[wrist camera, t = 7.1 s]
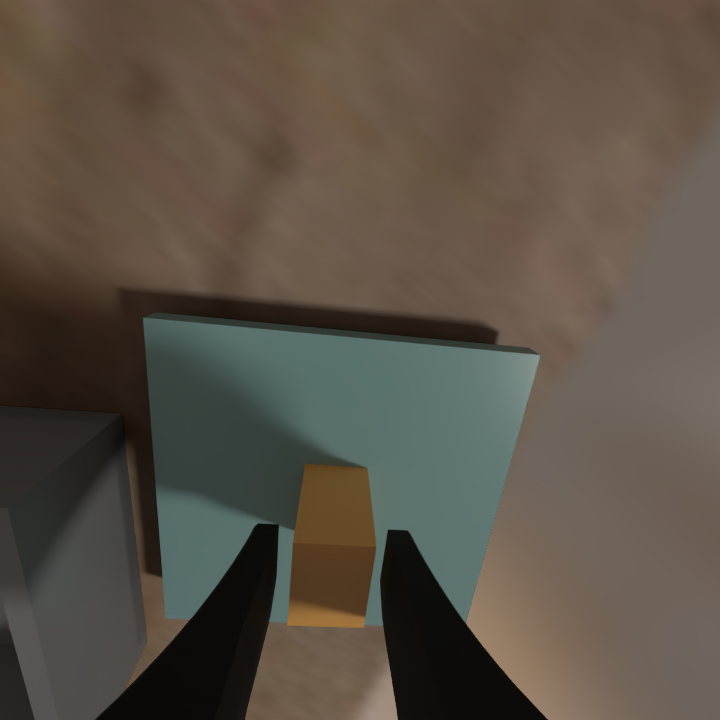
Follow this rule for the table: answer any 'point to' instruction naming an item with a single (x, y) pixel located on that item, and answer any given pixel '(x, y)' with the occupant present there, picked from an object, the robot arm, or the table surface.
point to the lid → (326, 457)
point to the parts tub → (66, 565)
